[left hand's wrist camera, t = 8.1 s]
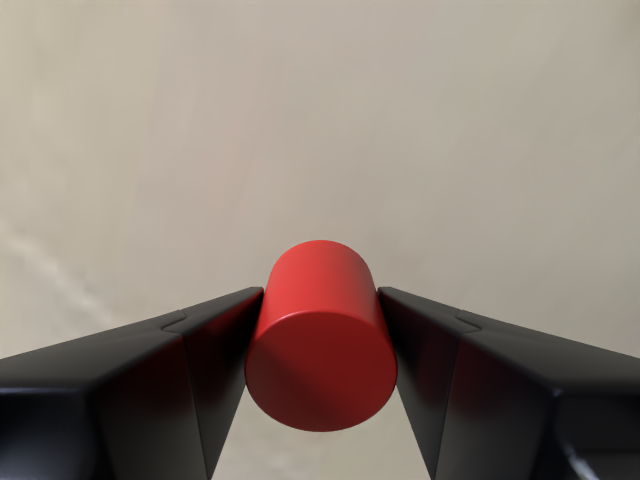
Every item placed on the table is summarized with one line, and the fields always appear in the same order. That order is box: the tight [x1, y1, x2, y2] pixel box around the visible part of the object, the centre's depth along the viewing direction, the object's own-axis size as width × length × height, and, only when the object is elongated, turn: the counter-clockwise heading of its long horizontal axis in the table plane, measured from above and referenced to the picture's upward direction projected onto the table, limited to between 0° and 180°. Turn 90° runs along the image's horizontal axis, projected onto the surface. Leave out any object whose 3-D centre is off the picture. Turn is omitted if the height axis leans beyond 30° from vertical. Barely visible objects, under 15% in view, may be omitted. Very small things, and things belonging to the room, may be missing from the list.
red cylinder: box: [244, 240, 398, 432], centre depth 10 cm, size 4×4×4 cm
